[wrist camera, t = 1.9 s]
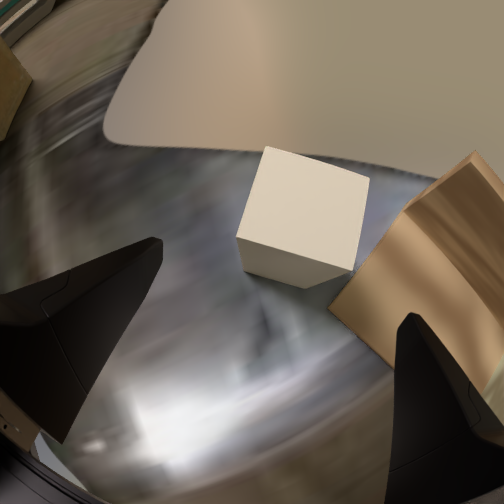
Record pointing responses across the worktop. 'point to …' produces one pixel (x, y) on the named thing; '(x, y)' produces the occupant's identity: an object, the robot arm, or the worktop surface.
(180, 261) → the worktop surface
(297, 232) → the bookend
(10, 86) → the caddy
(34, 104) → the worktop surface
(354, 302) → the wooden stand
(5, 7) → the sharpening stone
